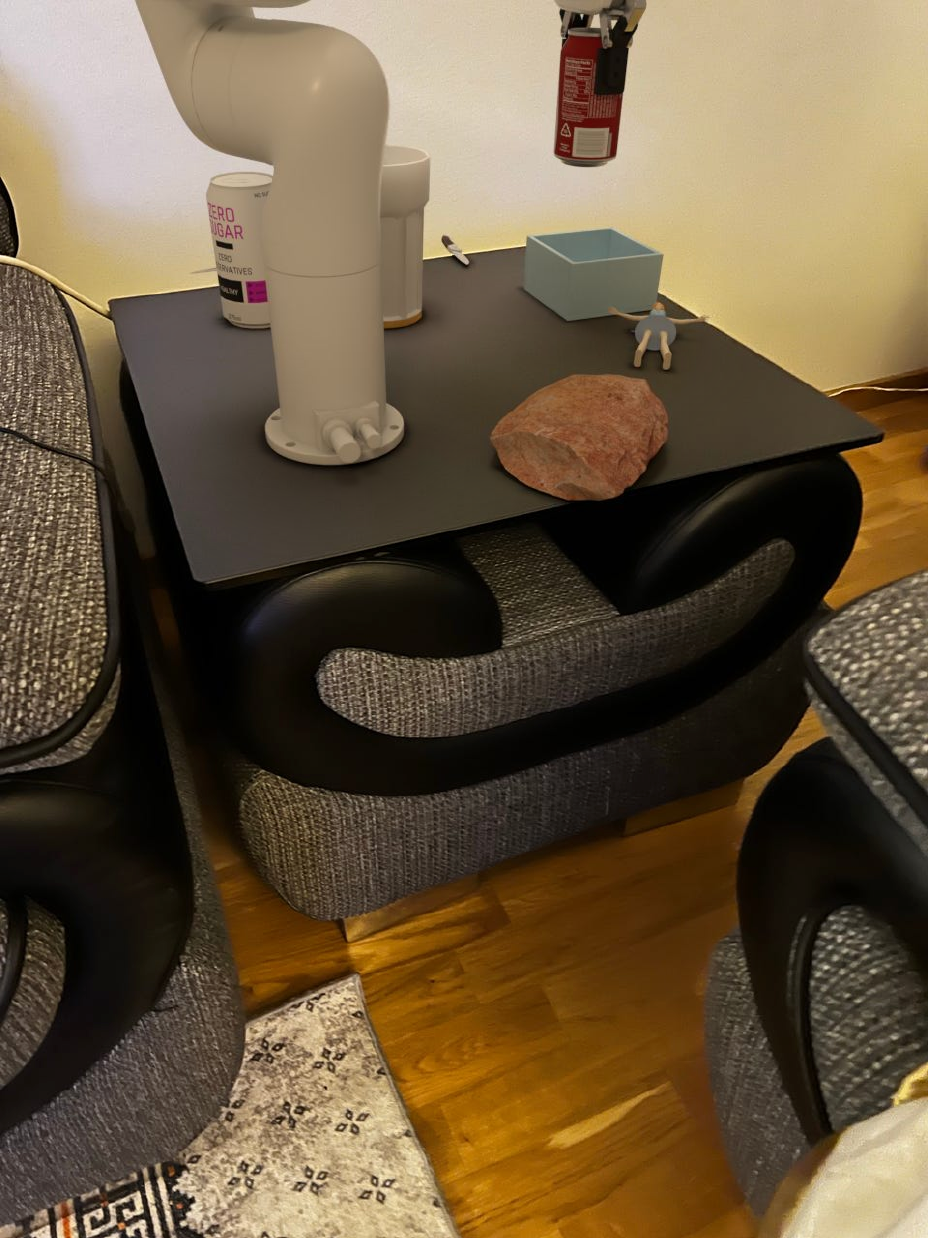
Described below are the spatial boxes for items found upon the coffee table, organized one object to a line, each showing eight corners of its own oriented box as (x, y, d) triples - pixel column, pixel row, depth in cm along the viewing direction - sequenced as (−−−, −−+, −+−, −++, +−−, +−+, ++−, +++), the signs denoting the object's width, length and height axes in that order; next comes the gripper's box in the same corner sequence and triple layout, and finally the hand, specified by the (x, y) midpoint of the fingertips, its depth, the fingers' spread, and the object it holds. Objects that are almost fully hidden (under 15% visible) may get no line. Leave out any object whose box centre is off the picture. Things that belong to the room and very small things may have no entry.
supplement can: (301, 307, 109) (289, 171, 100) (284, 332, 103) (269, 189, 93) (236, 303, 110) (217, 168, 100) (214, 328, 103) (192, 186, 94)
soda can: (613, 170, 95) (628, 35, 87) (549, 167, 96) (558, 32, 88) (617, 157, 100) (631, 27, 92) (556, 153, 101) (565, 25, 93)
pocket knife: (449, 240, 133) (436, 238, 132) (451, 234, 132) (438, 232, 132) (472, 269, 123) (458, 266, 122) (474, 262, 122) (460, 260, 121)
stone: (558, 411, 92) (464, 485, 77) (560, 353, 89) (462, 419, 74) (694, 432, 86) (621, 516, 71) (701, 371, 83) (626, 446, 68)
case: (655, 309, 111) (663, 253, 107) (567, 321, 107) (572, 263, 103) (606, 279, 120) (612, 226, 116) (523, 289, 116) (526, 235, 112)
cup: (329, 302, 111) (318, 144, 100) (419, 296, 113) (417, 141, 102) (344, 335, 102) (333, 167, 91) (441, 328, 105) (442, 163, 94)
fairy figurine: (601, 332, 95) (610, 283, 103) (596, 374, 98) (605, 323, 106) (712, 342, 93) (712, 292, 102) (704, 384, 97) (705, 331, 105)
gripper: (532, -136, 87) (522, 77, 99) (622, -141, 75) (599, 104, 86) (600, -134, 90) (583, 74, 101) (699, -138, 77) (667, 100, 88)
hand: (590, 86), depth 93 cm, fingers closed on soda can, 6 cm apart
